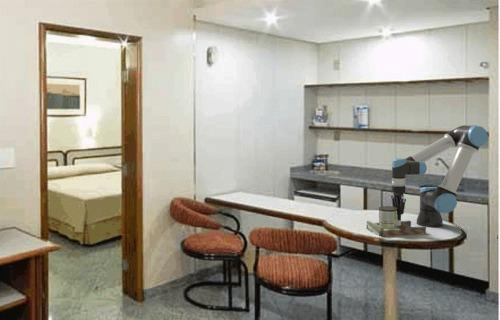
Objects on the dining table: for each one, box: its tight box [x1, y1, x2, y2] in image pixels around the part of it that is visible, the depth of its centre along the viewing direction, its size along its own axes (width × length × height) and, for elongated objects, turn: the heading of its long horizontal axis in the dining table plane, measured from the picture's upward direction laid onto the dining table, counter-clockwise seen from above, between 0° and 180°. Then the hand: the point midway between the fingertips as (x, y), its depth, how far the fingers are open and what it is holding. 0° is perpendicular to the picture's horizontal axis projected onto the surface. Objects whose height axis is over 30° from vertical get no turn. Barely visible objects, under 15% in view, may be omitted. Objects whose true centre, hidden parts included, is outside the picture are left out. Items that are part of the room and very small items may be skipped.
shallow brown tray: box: [366, 220, 427, 237], centre depth 269 cm, size 28×18×5 cm, turn 102°
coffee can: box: [378, 205, 397, 229], centre depth 268 cm, size 10×10×14 cm
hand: (398, 225), depth 270 cm, fingers closed
